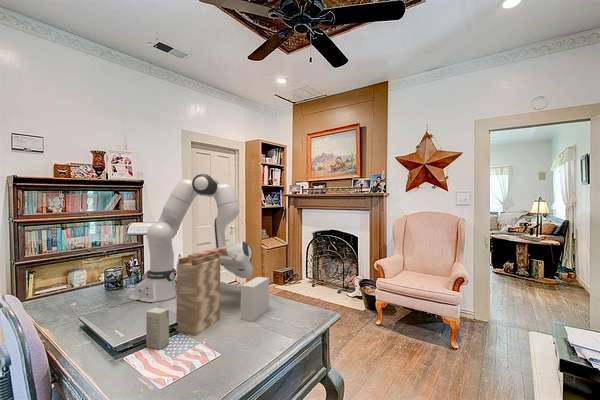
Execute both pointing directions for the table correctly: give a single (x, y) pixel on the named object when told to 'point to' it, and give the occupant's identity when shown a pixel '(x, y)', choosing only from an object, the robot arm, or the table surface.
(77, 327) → the table surface
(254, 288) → the shelf
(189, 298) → the chute stand
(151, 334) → the skincare box
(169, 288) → the robot arm
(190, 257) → the bar
